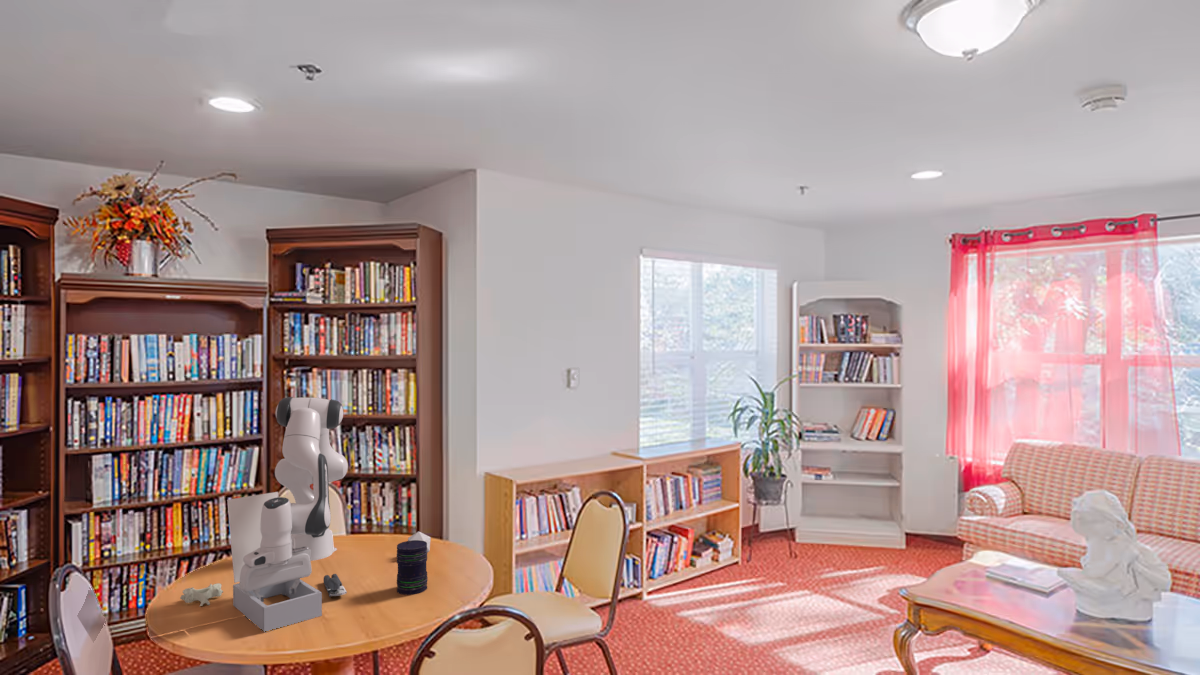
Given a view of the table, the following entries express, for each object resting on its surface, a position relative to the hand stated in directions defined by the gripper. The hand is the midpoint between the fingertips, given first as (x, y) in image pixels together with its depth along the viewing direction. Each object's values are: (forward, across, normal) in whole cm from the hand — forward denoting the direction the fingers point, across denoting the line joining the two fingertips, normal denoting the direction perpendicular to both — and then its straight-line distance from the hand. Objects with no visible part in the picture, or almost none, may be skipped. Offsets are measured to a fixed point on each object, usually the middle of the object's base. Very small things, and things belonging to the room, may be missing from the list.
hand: (276, 597), depth 207 cm
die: (+4, -57, -14) cm, 59 cm away
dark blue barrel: (+4, -38, +14) cm, 41 cm away
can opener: (+5, -20, -4) cm, 21 cm away
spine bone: (+5, +14, -24) cm, 28 cm away
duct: (+4, 0, 0) cm, 4 cm away
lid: (-3, 0, -13) cm, 14 cm away
